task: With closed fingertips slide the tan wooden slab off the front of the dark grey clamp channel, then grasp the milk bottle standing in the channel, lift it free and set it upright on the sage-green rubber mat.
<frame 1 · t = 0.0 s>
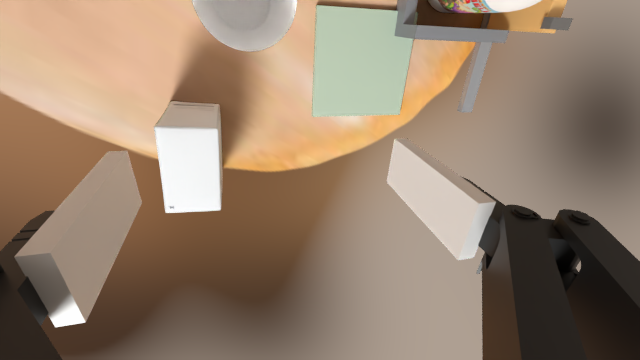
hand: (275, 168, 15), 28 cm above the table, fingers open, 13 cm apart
skincare box: (198, 138, 41), on the table
mat: (361, 65, 42), on the table
cup: (241, 0, 35), on the table
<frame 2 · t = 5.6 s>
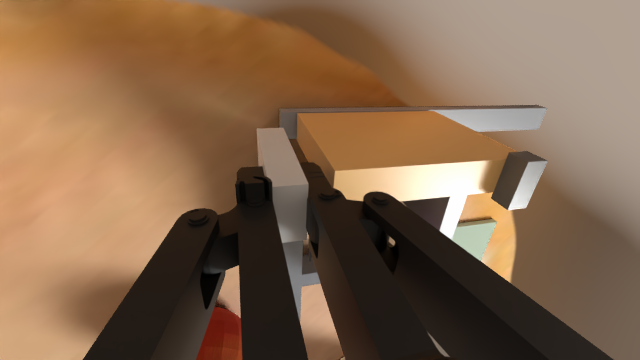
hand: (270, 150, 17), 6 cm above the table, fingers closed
tan wooden slab: (400, 151, 18), point 6 cm above the table, slide at 0.3 cm, touching gripper
mat: (425, 272, 35), on the table
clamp: (347, 204, 27), on the table
fruit: (205, 321, 30), on the table
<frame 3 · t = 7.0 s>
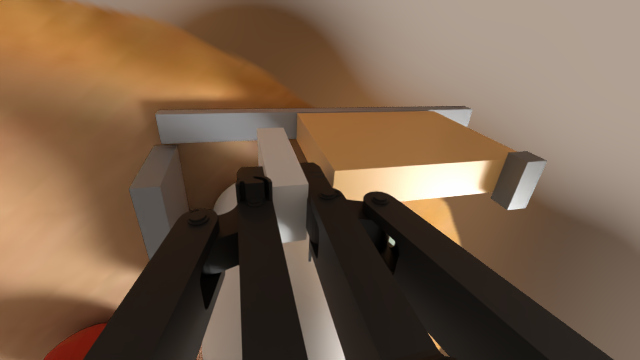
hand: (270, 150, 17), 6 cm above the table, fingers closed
milk bottle: (259, 211, 26), resting in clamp
tan wooden slab: (399, 151, 18), point 6 cm above the table, slide at 8.4 cm, touching gripper
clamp: (259, 212, 26), on the table
fruit: (116, 337, 28), on the table
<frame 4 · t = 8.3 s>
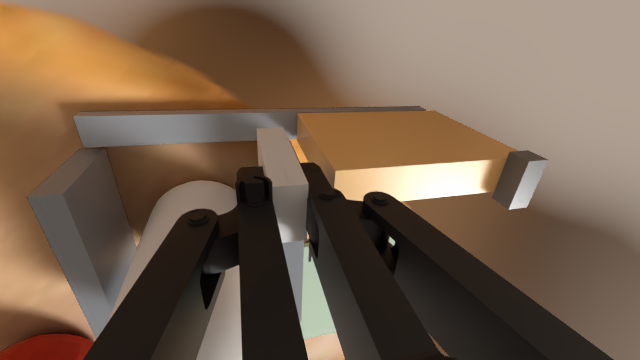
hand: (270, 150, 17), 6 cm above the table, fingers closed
milk bottle: (205, 216, 25), resting in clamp
tan wooden slab: (400, 150, 18), point 6 cm above the table, slide at 12.8 cm, touching gripper
mat: (325, 289, 32), on the table
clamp: (205, 218, 24), on the table
fruit: (62, 348, 27), on the table
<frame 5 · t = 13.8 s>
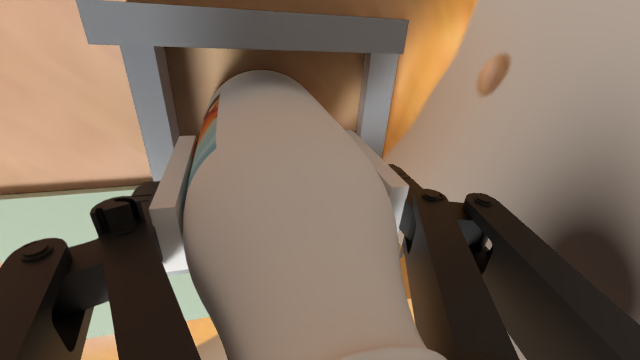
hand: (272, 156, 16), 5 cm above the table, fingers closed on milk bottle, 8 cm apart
milk bottle: (263, 124, 21), resting in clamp, touching gripper
tan wooden slab: (379, 304, 24), point 6 cm above the table, slide at 12.9 cm
mat: (127, 264, 23), on the table
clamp: (263, 125, 21), on the table
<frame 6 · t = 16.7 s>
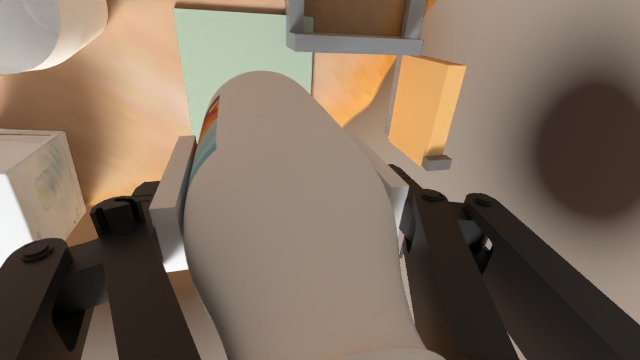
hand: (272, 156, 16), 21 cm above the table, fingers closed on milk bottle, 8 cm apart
skincare box: (47, 172, 34), on the table
milk bottle: (263, 125, 21), point 16 cm above the table, touching gripper
tan wooden slab: (423, 110, 34), point 6 cm above the table, slide at 12.9 cm
mat: (250, 82, 34), on the table
cup: (66, 1, 27), on the table
when the fingers open (7 cm above the table, at t = 19.6 s): milk bottle drops 1 cm, resting on mat.
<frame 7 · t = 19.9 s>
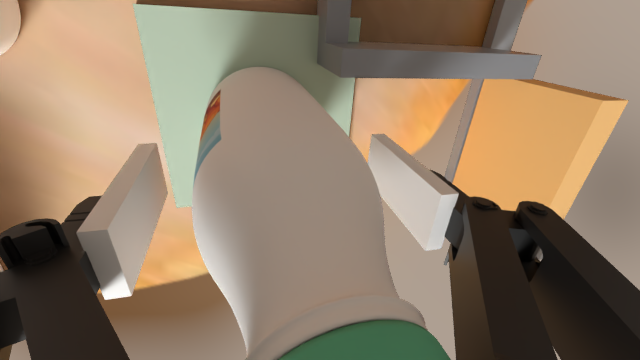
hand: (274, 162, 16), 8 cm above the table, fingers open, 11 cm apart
milk bottle: (261, 119, 22), resting on mat
tan wooden slab: (522, 160, 23), point 6 cm above the table, slide at 12.9 cm
mat: (261, 117, 23), on the table
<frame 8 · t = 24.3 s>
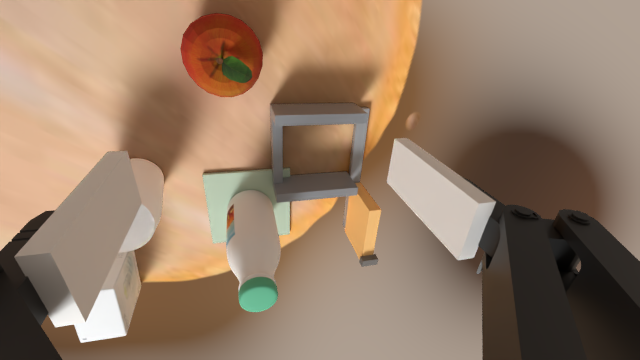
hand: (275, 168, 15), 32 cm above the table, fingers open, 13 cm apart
skincare box: (119, 265, 52), on the table
milk bottle: (249, 206, 52), resting on mat
tan wooden slab: (362, 223, 53), point 6 cm above the table, slide at 12.9 cm
mat: (250, 205, 53), on the table
cup: (140, 176, 46), on the table
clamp: (313, 144, 50), on the table
fruit: (223, 52, 40), on the table
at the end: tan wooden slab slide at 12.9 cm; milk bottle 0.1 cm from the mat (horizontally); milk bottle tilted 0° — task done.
